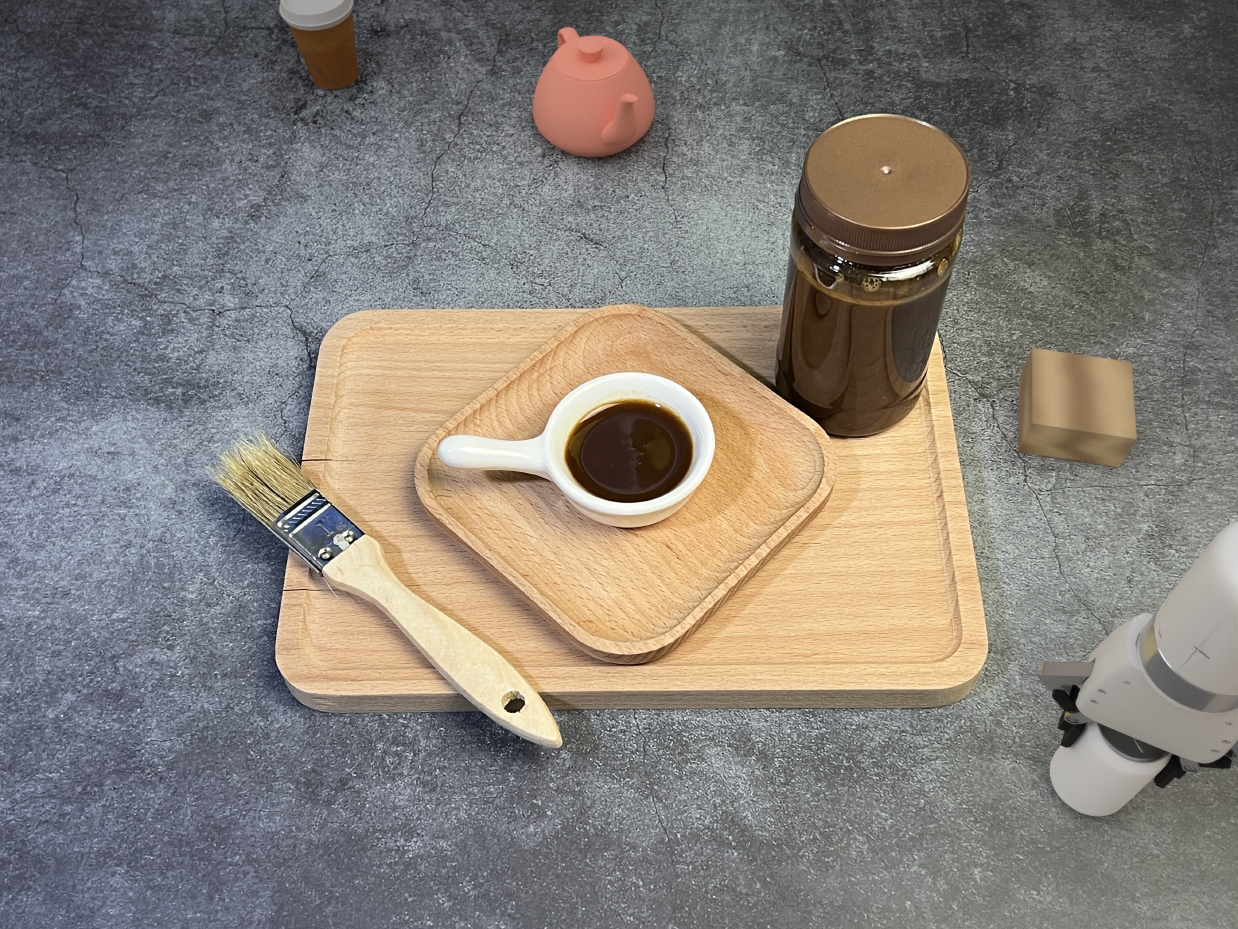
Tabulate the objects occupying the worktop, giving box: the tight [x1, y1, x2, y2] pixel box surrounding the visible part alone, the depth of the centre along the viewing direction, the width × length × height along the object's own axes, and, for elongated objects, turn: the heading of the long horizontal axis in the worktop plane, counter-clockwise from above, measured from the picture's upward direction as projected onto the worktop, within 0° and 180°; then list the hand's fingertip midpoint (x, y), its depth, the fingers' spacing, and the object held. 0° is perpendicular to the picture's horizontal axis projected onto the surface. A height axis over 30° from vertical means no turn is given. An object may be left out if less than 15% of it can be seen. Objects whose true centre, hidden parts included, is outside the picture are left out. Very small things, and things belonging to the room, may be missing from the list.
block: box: [1017, 347, 1138, 468], centre depth 113 cm, size 10×10×5 cm
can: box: [1049, 721, 1172, 817], centre depth 87 cm, size 6×6×12 cm
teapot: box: [532, 26, 656, 158], centre depth 138 cm, size 22×16×12 cm
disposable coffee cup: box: [278, 0, 360, 90], centre depth 146 cm, size 10×10×12 cm
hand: (1115, 749), depth 86 cm, fingers closed on can, 6 cm apart
